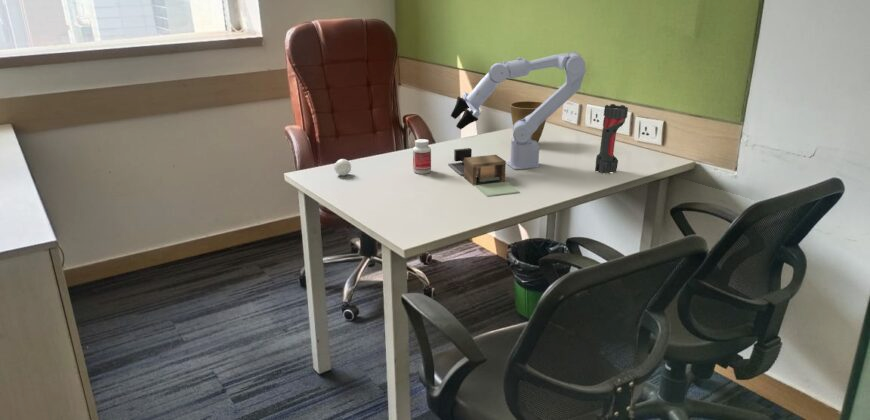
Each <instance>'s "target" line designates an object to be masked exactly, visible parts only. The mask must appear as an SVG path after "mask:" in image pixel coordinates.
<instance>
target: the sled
mask: <svg viewBox="0 0 870 420" xmlns="http://www.w3.org/2000/svg"><path fill="white" fill-rule="evenodd" d="M453 150H454V152H453V153H454V154H453V155H454V157H453V161H454V162H463V163H464V158H467V157H473V156H472V151H473V150H472V148H470V147H468V148H467V147H466V148H457V149H455V148H454V149H453ZM476 181H478V182H479V183H481V182H482V183H484V182H492V181H493V182H494V181H500V177H499V176H498V175H496V174H495V165H492V166H483V167H477V176H476Z"/></svg>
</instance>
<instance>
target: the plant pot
mask: <svg viewBox="0 0 870 420" xmlns="http://www.w3.org/2000/svg"><path fill="white" fill-rule="evenodd" d="M543 102H544V101H543ZM543 102H541V101H532V100H531V101H529V100H527V101H526V100H525V101H524V100H523V101H514V102H512V103H510V104H509V106H510V107H509V108H510V114H511V121H512V126H513V125H514V124H515V122H517V121H519V120H522V119H524V118H525V117H526V116H528V115H530V114H531V113H532V112H534V111H535V110H536V109H537V108H538V107H539V106H540V105H541V104H542V103H543ZM546 121H547V119H546V120H545V121H544V122H543V123H542V124H540V125H539V127H538V128H537V130H536V131H535V132H534V133H533V134H532V136H531V139H532V140H535V141H537V143H538V144H539V141H540V140H541V137H542V134H543V132H544V127H545V125H546Z"/></svg>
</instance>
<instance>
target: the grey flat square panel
mask: <svg viewBox="0 0 870 420" xmlns="http://www.w3.org/2000/svg"><path fill="white" fill-rule="evenodd" d="M447 166H448V167H449V168H451V169H452V170H453V171H454V172H455V173H456V174H458V175H460V177H464V163H463V162H462V161H459V162H453V163H448V165H447Z"/></svg>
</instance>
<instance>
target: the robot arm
mask: <svg viewBox="0 0 870 420" xmlns="http://www.w3.org/2000/svg"><path fill="white" fill-rule="evenodd" d="M549 68H557V69H559V70H562V71H564V70H565V82H564V83H563V84H562V85H561V86H559V87H558V89H556V91H554V92H553V94H551V95H550V96H549V97H548V98H547V99H545V100H544V101H543V103H542V104H541V105H540V106H539V107H538V108H537V109H536V110H535V111H534V112H532V113H531V114H530V115H528V116H526V117H525V118H524V119H522V120H519V121H517V122H515V124H514V125H513V124H512V131H513V132H512V133H513V134H512V137H513V138H512V139H511V140H510V141H511V142H510V146H511V147H510V161H506V166H507V165H508V166H509V167H511V168H512V169H514V170H523V169H524V170H525V169H535V168H539V167H540V165H539V157H540V147H539V146H540V145H539V142H538V143H537V141H535V140H532V139H531V136H532V134H533V133H534V132H535V131H536V130H537V128H538V127H539V125H540V124H542V123H543V122H544V121H545V120H546V121H547V119H548V118H549V117H550V116H552V115H553V114H554V113H555V112H556V111H557V110H559V108H561V107H562V106H563V105H564V104H565V103H566V102H567V101H568V100H569V99H571V98H572V97H573V96H574V95H575V94H576V93H577V92H579V91H580V89H581V87H582V84H583V80H584V78H585V74H586V71H587V69H586V61H585V59H584V58H583V57H582V55H581V54H579V53H578V52H576V51H574V52H573V51H572V52H569V53H567V52H564V53H563V52H562V53H558V54H553V55H552V54H551V55H549V56H543V57H541V58H536V59H533V60H528V59H527V58H525V57H523V58H521V56H518V57H517V58H516V59H515V60H509V61H507V60H503V61H502V63H501V62H496V63H494V64H491V66H490V68H489V71H487V73H486V74H485V76H482V78H481V79H480V80H479V82H478V83H477V84H476V86H474V88H473V89H472V90H471V91H470V92H469V94H468V93H467V92H466V91H464V92H463V94H462V95H461V97H460V96H457V99H456V103H455V105H454V108H453V110H452V112H451V114H450V117H451V118H453V119H454V120H456V119H458V118H459V117H460V116H461V118H460V119H459V121H458V122H457V124H456V128H458V129H459V130H463V129H464V128H466V127H467V126H468V125H470V124H472V123H473V122H474V123H475V122H478V120H479V116H480V115H481V112H480V107H481V106H482V105H483V104H484V103H485V102H486V101H487V99H488V98H489V97H490V96H491V95H492V94H493V92H494V91H495V90H496V89H497V87H498V86H499V84H500V83H503V82H505V80H506V79H508V80H510V79H516V78H522V77H524V76H528V75H529V74H530V73H531V71H535V70H537V71H538V70H542V69H549Z"/></svg>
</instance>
